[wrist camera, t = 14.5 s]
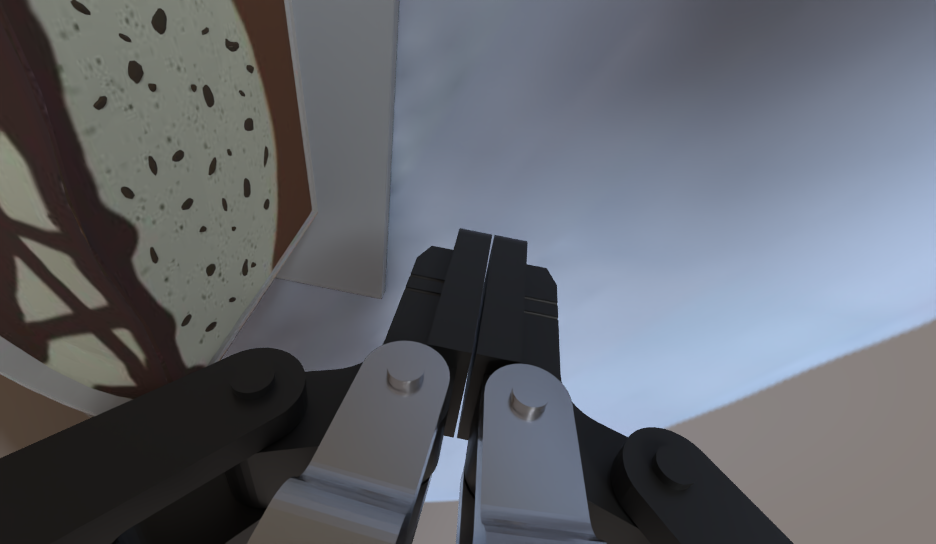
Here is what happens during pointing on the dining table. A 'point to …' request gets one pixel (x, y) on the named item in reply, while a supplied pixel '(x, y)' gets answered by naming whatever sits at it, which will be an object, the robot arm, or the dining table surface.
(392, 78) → the felt mat
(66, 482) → the robot arm
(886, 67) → the dining table surface
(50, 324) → the food container
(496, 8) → the dining table surface
